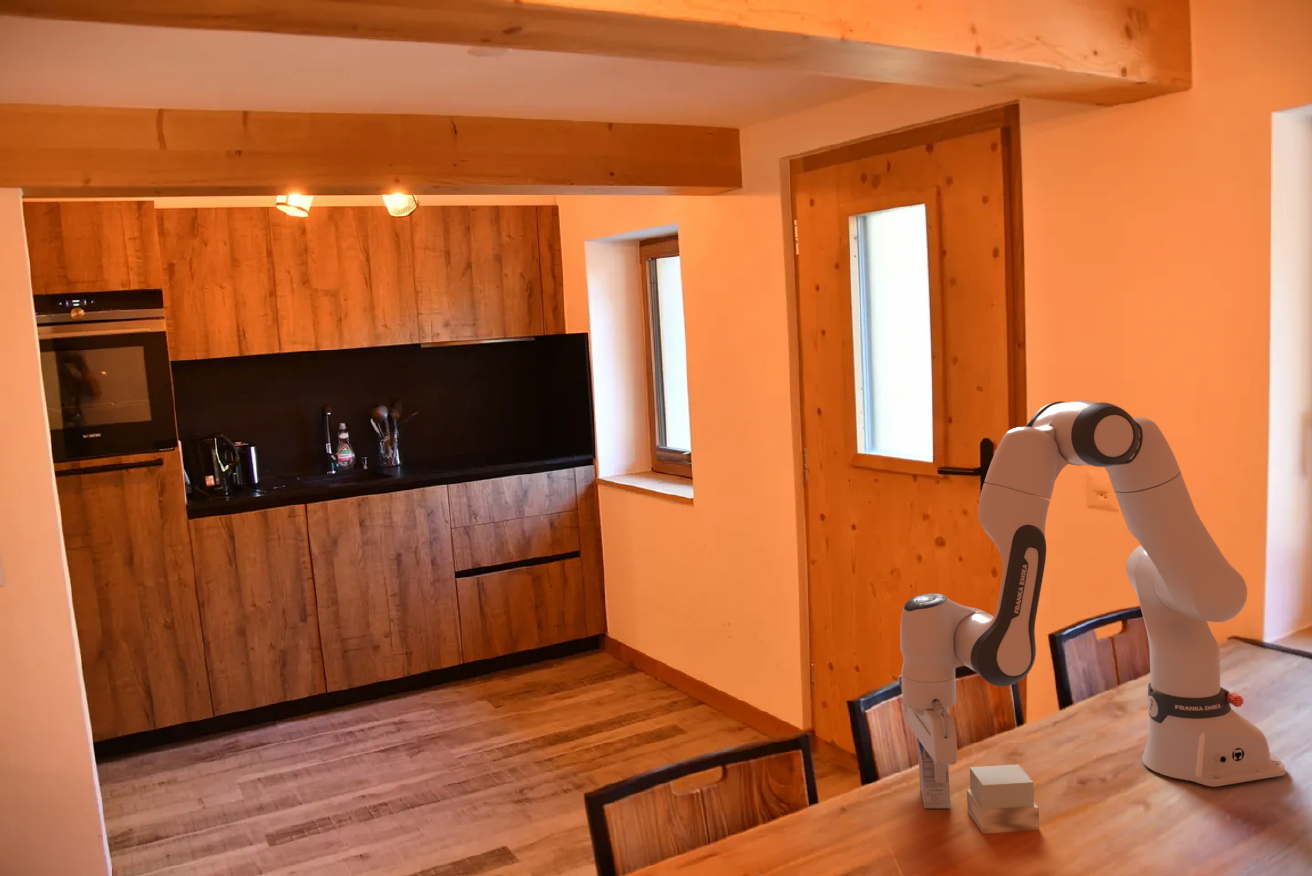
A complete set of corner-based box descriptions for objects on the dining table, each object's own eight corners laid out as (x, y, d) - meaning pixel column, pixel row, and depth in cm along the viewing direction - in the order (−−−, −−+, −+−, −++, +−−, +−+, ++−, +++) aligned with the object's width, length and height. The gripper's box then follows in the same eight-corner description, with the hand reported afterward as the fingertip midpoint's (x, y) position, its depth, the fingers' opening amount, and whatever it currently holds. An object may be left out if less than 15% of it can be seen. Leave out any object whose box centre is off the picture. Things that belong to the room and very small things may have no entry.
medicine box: (950, 809, 175) (949, 759, 175) (923, 809, 176) (921, 759, 175) (945, 789, 183) (943, 741, 182) (919, 789, 184) (917, 741, 183)
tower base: (1021, 809, 175) (1020, 786, 174) (1039, 831, 167) (1038, 807, 166) (967, 812, 175) (966, 789, 174) (982, 835, 167) (981, 811, 166)
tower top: (1018, 787, 174) (1018, 764, 173) (1034, 806, 167) (1033, 782, 166) (970, 790, 174) (969, 767, 173) (983, 809, 167) (982, 785, 167)
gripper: (965, 711, 168) (968, 794, 169) (931, 670, 188) (934, 745, 189) (926, 713, 168) (929, 797, 169) (896, 673, 188) (899, 747, 189)
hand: (931, 769), depth 179 cm, fingers closed on medicine box, 8 cm apart
